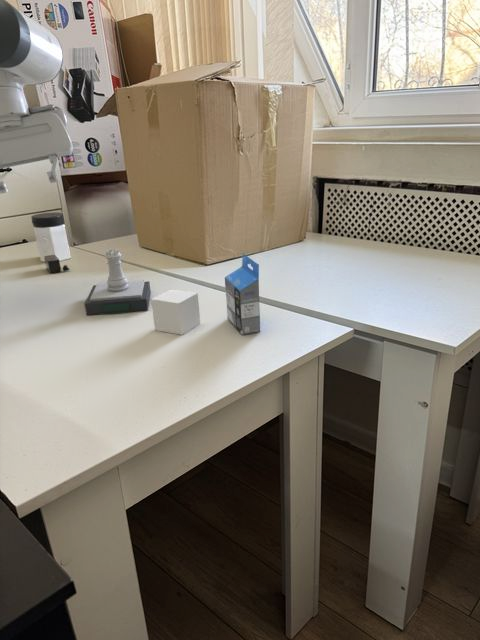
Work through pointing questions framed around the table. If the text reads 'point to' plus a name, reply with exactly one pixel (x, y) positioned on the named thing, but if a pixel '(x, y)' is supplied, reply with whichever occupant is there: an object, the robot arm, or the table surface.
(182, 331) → the white cube
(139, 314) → the table surface
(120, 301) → the scale
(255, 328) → the ink cartridge box
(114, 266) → the rook chess piece
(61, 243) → the jar
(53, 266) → the wireless earbuds
